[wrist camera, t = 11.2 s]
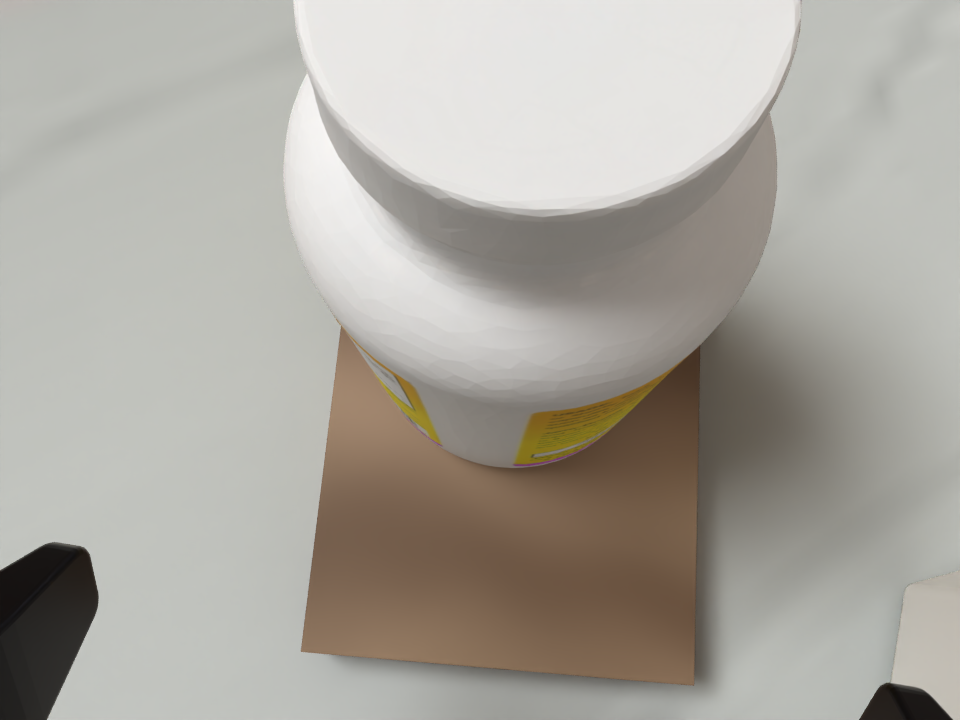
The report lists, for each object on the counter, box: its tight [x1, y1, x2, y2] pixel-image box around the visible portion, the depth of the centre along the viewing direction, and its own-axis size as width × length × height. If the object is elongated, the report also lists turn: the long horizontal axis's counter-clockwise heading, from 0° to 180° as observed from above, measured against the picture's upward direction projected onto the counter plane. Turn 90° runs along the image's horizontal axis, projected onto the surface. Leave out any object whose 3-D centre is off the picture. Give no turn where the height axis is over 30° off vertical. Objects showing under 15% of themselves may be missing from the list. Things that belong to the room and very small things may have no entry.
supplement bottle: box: [283, 0, 802, 468], centre depth 13 cm, size 7×7×13 cm
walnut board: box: [301, 326, 700, 686], centre depth 20 cm, size 16×9×2 cm, turn 175°
